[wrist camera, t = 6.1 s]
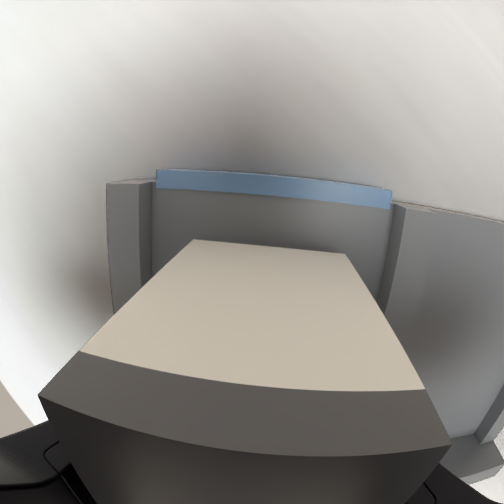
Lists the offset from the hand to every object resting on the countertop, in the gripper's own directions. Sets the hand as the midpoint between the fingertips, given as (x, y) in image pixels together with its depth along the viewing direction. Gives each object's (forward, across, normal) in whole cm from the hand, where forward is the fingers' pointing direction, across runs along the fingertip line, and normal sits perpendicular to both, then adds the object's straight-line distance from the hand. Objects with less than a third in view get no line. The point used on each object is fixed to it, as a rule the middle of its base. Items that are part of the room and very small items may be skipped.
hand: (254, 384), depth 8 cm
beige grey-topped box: (+2, 0, 0) cm, 2 cm away
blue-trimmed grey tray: (+4, -5, +2) cm, 6 cm away
